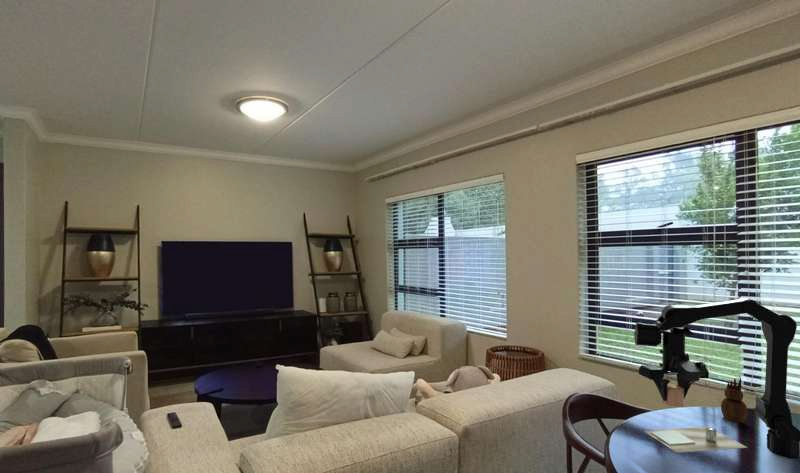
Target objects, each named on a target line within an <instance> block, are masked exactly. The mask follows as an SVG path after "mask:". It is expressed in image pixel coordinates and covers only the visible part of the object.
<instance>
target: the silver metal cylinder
mask: <svg viewBox="0 0 800 473" xmlns="http://www.w3.org/2000/svg"><path fill="white" fill-rule="evenodd" d="M705 427H706V441H707V442H710V443H716V442H717V436H716V431H717V429H716V428H714V427H710V426H705Z"/></svg>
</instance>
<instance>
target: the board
mask: <svg viewBox="0 0 800 473" xmlns="http://www.w3.org/2000/svg"><path fill="white" fill-rule="evenodd" d="M706 427H707V426H699V427H697V426H696V427H685V428H684V427H683V428H682V427H681V428H669V429H666V428H665V429H649V430H643V432H644V433H646V434H648V435H649V436H651V437H652V438H653V439H655V440H657V441H658V442H660V443H661V444H662V445H664V446H666V447H668V448H669V449H670V450H672V451H673V452H675V453H677V454H678V453H681V454H682V453H691V452H706V451H709V452H710V451H720V450H734V449H737V450H738V449H747V448H748V447H747V446H745V445H744V444H742V443H740V442H738V441H737V440H734V439H732V438H730V437H729V436H727V435H725V434H723V433H721V432H719V431H717V430H716V436H717V442H716V443H710V442H707V441H706ZM672 430H675V431H677V432H679V433H680V434H682V435H684V436H685V437H687V438H689V439H691V440H692V441H694V442H695V444H687V445H673V446H669V445H668V444H666V443H665V442H663V441H662V440H660V439H659V438H657V437H656V436H654V435H652V434H651V432H656V431H672Z"/></svg>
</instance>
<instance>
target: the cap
mask: <svg viewBox="0 0 800 473" xmlns="http://www.w3.org/2000/svg"><path fill="white" fill-rule="evenodd" d="M662 403H664V404H665V405H667V406H671V407H679V408H680V407H681V408H682V407H684V405H685V399H684V388H683V387H682V386H679V385H678V384H674V383H668V385H667V401H664V400H663V399H662Z"/></svg>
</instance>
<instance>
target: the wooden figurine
mask: <svg viewBox="0 0 800 473" xmlns="http://www.w3.org/2000/svg"><path fill="white" fill-rule="evenodd" d="M726 384H727V385H726V388H725V389H724V396H725V397H724V398H723V399H722V400H721V402H720V411H721V414H722V416H723V418H724V419H725V420H726V421H727V420H728V421H730V422H734V423H739V424H740V423H741V424H744V423H745V421H746V419H747V416H748V407H747V405H746V403H745V402H744V401H743V398H744V392H743V391H742V377H739V379H738V383H737V380H736V378H734V380H733V381H732V380H730V382H727V383H726Z"/></svg>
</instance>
